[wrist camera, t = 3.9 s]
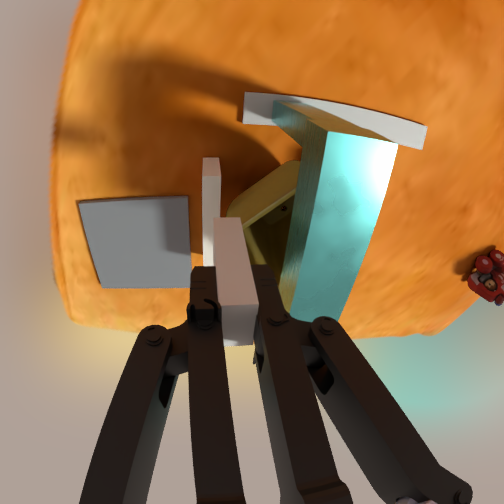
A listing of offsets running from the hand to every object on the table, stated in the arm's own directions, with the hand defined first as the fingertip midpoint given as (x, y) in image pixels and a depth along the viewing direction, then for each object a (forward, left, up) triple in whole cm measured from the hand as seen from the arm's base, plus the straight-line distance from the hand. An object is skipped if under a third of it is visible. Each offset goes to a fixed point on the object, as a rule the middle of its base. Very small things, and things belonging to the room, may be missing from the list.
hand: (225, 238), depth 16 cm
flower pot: (+3, +6, -13) cm, 14 cm away
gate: (0, +6, -12) cm, 13 cm away
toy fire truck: (+15, +53, -13) cm, 57 cm away
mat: (+9, -9, -12) cm, 18 cm away
